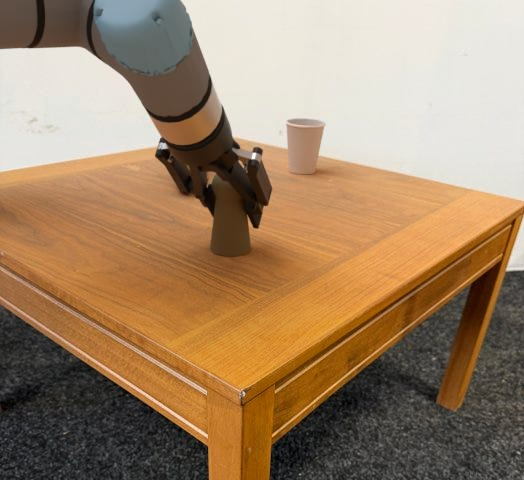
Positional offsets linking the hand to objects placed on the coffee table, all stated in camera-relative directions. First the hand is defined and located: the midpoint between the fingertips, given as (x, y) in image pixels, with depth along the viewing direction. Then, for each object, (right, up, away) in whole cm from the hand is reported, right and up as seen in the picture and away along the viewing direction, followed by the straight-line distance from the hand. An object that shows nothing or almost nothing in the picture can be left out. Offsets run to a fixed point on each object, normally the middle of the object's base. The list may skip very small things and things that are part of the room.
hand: (239, 217), depth 82 cm
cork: (-1, -5, -1) cm, 5 cm away
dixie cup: (+12, +19, +37) cm, 44 cm away
